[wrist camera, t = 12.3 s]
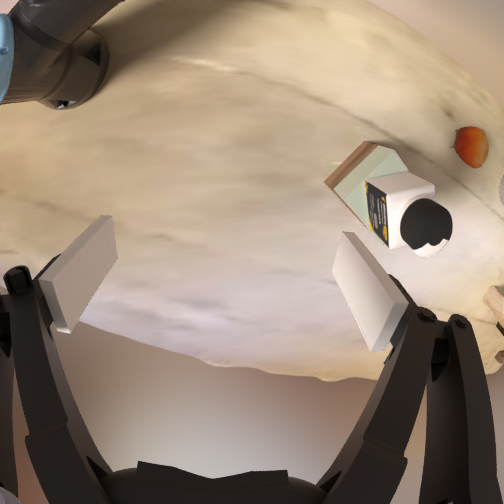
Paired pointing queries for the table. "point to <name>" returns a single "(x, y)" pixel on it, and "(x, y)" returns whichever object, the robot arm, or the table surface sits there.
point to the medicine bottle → (407, 213)
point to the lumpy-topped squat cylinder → (501, 190)
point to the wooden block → (500, 357)
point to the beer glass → (495, 303)
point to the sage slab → (371, 167)
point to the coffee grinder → (500, 328)
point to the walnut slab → (349, 168)
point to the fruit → (471, 146)
